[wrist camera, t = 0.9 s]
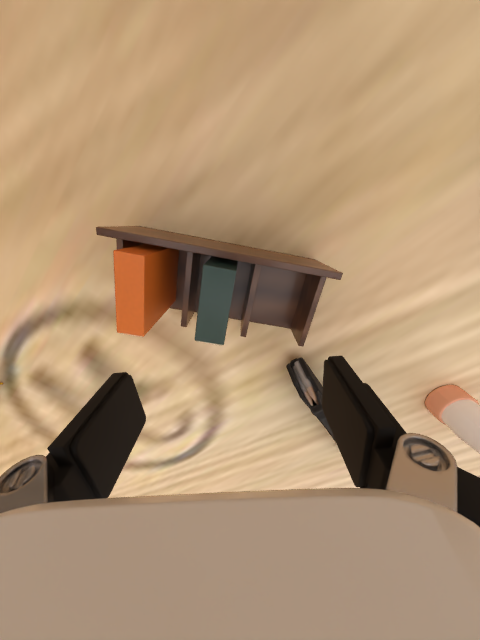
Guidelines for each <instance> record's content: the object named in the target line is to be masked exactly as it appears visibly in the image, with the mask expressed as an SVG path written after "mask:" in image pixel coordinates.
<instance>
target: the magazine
mask: <svg viewBox="0 0 480 640" xmlns="http://www.w3.org/2000/svg"><path fill="white" fill-rule="evenodd" d="M286 367H287V369H288V372H289V374H290V377H291V379H292V381H293V384H294V386H295V387H296V389H297V391H298V394H299V396H300V398H301V399H302V400H303V401H304V402H305V404H306V405H307V406H308V407H309V408H310V410H311V412H312V413H313V415H315V416H316V417H317V418H318V419H319V420H320V422H321V423H322V424H323V425H324V427H325V428H326V429H327V431H328V432H329V433H330V435H331V436H332V437H333V439H334V440H335V438H334V436H333V433H332V431H331V429H330V426H329V424H328V422H327V419H326V417H325V415H324V412H323V409H322V392H323V387H322V385H321V384H320V382H319V381H318V379H317V378H316V377H315V375H314V374H313V372H312V371H311V369H310V368H309V366H308V365H307V364H306V362H305V361H304V359H303V358H298V359H294V360H292V361H291V362H290V364H287V366H286ZM335 441H336V440H335Z"/></svg>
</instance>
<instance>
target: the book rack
mask: <svg viewBox="0 0 480 640" xmlns="http://www.w3.org/2000/svg"><path fill="white" fill-rule="evenodd" d="M96 231H97V235H101V236H107V237H112V238H116V239H117V250H118V249H123V248H128V247H133V246H138V245H143V244H150V245H155V246H160V247H166V248H171V249H176V250H179V258H178V273H177V287H176V301H175V302H174V303H173V304H172V305H171V306H170V307H169V308H173V309H179V310H182V319H181V326H183V327H187V325H188V323H189V321H190V319H191V318H192V316H193V314H194V312H197V313H198V306H199V297H200V288H201V279H202V270H203V265H204V264H205V263H206V262H207V261H208V260H209V259H210V258H211V257H212V256H214V257H219V258H225V259H230V260H236V261H238V264H237V271H236V277H235V283H234V288H233V294H232V300H231V306H230V312H229V317H228V318H232V319H238V320H241V336H243V337H246V334H247V329H248V324H249V321H250V322H256V323H261V324H267V325H273V326H279V327H285V328H291V330H292V333H293V335H294V337H295V339H296V341H297V343H298V345H299V346H304V343H305V340H306V337H307V334H308V331H309V328H310V325H311V322H312V319H313V316H314V313H315V310H316V307H317V304H318V301H319V298H320V295H321V292H322V289H323V286H324V283H325V280H326V277H327V278H332V279H338V280H341V277H342V274H343V273H341V272H339V271H337V270H335V269H333V268H331V267H329V266H327V265H325V264H323V263H321V262H319V261H317V260H315V259H310V258H304V257H299V256H294V255H289V254H283V253H278V252H273V251H268V250H262V249H257V248H252V247H247V246H241V245H236V244H231V243H226V242H220V241H215V240H210V239H205V238H199V237H194V236H189V235H184V234H178V233H173V232H168V231H163V230H157V229H152V228H147V227H142V226H119V227H96Z"/></svg>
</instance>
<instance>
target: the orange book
mask: <svg viewBox="0 0 480 640" xmlns="http://www.w3.org/2000/svg"><path fill="white" fill-rule="evenodd" d="M178 258H179V250H176V249H171V248H166V247H160V246H155V245H150V244H143V245H138V246H133V247H128V248H123V249H118V250H114V274H115V297H116V320H117V332H118V333H120V334H126V335H132V336H138V337H143V336H145V334H146V333H147V332H148V331H149V330H150V329H151V328H152V327H153V325H154V324H155V323H156V322H157V321H158V320H159V319H160V318H161V316H162V315H163V314H164V313H165V312H166V311H167V310H168V309H169V307H170V306H171V305H172V304H173V303H174V302H175V301H176V287H177V273H178Z"/></svg>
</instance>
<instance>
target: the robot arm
mask: <svg viewBox="0 0 480 640" xmlns="http://www.w3.org/2000/svg"><path fill="white" fill-rule="evenodd" d="M322 409H323V412H324V415H325V417H326V419H327V422H328V424H329V426H330V429H331V431H332V433H333V436H334V438H335V440H336V443H337V445H338V447H339V450H340V452H341V454H342V457H343V459H344V461H345V464H346V466H347V468H348V471H349V473H350V475H351V478H352V480H353V482H354V484H355V486H356V487H360V488H324V489H291V490H267V491H243V492H221V493H200V494H179V495H158V496H140V497H121V498H108V497H109V495H110V493H111V491H112V489H113V487H114V485H115V483H116V481H117V479H118V477H119V475H120V473H121V471H122V469H123V467H124V465H125V463H126V461H127V459H128V457H129V455H130V453H131V451H132V449H133V447H134V445H135V443H136V441H137V439H138V436H139V434H140V432H141V430H142V428H143V426H144V424H145V421H146V415H145V413H144V410H143V407H142V404H141V401H140V398H139V396H138V393H137V390H136V387H135V384H134V381H133V379H132V376H131V375H128V373H126V372H123V373H114V374H112V375H111V376H110V377H109V378H108V380H107V381H106V382H105V383H104V384H103V385H102V386H101V388H100V389H99V390H98V391H97V392H96V393H95V394H94V396H93V397H92V398H91V399H90V400H89V401H88V402H87V404H86V405H85V406H84V407H83V408H82V409H81V410H80V412H79V413H78V414H77V415H76V416H75V417H74V418H73V420H72V421H71V422H70V423H69V424H68V425H67V426H66V428H65V429H64V430H63V431H62V432H61V433H60V434H59V436H58V437H57V438H56V439H55V440H54V441H53V443H52V444H51V445H50V446H49V447H48V448H47V449H48V450H49V452H50V453H49V454H48V455H47V456H46V457H45V456H43V455H35V456H31V457H28V458H26V459H23V460H21V461H20V462H18V463H16V464H15V465H13V466H12V467H11V468H9V469H8V470H7V471H6V472H4V473H3V474H2V475H1V476H0V640H480V478H479V477H477V476H475V475H473V474H471V473H469V472H466V471H464V470H462V469H460V468H458V467H457V464H456V460H455V459H454V457H453V456H452V454H451V453H450V452H449V451H448V450H447V449H446V448H445V447H444V446H443V445H441V444H440V443H438V442H437V441H435V440H433V439H431V438H429V437H427V436H424V435H421V434H415V433H408V434H407V433H406V432H405V431H404V429H403V428H402V427H401V426H400V424H399V423H398V422H397V421H396V419H395V418H394V417H393V415H392V414H391V413H390V412H389V410H388V409H387V408H386V406H385V405H384V404H383V403H382V401H381V400H380V399H379V398H378V396H377V395H376V394H375V392H374V391H373V390H372V389H371V387H370V386H369V385H368V384H366V383H362V381H361V380H360V379H359V377H358V376H357V375H356V373H355V372H354V371H353V369H352V368H351V367H350V365H349V364H348V363H347V361H346V360H345V359H344V357H343V356H332V357H329V358H328V360H325V361H324V375H323V392H322Z"/></svg>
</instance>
